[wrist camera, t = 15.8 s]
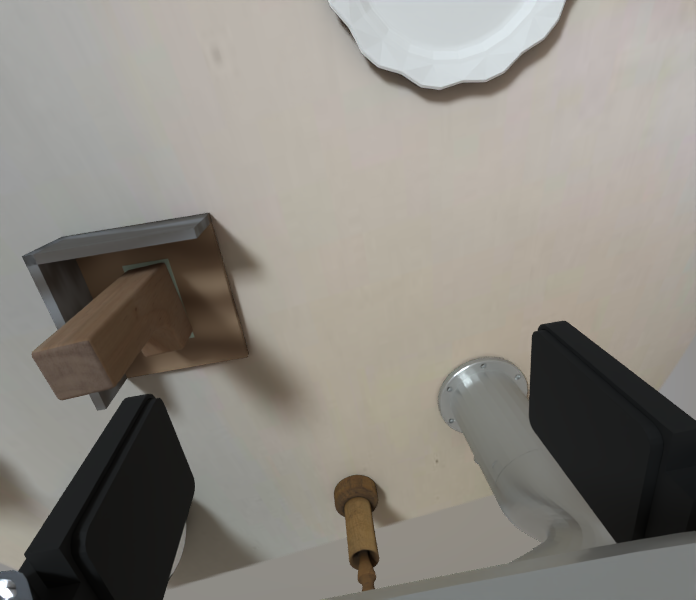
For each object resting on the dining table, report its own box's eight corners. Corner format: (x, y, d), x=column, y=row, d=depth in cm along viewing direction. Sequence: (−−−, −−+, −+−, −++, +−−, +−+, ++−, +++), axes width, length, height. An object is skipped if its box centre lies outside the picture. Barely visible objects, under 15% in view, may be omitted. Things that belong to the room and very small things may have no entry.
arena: (248, 352, 53) (241, 385, 46) (122, 375, 52) (97, 410, 46) (209, 212, 46) (193, 228, 39) (61, 237, 45) (21, 256, 39)
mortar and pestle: (343, 470, 62) (357, 596, 46) (382, 479, 64) (410, 604, 47) (327, 501, 64) (336, 632, 48) (366, 509, 66) (386, 639, 50)
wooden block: (194, 330, 50) (140, 435, 33) (157, 339, 50) (85, 448, 33) (165, 260, 46) (88, 339, 30) (125, 269, 46) (26, 353, 30)
